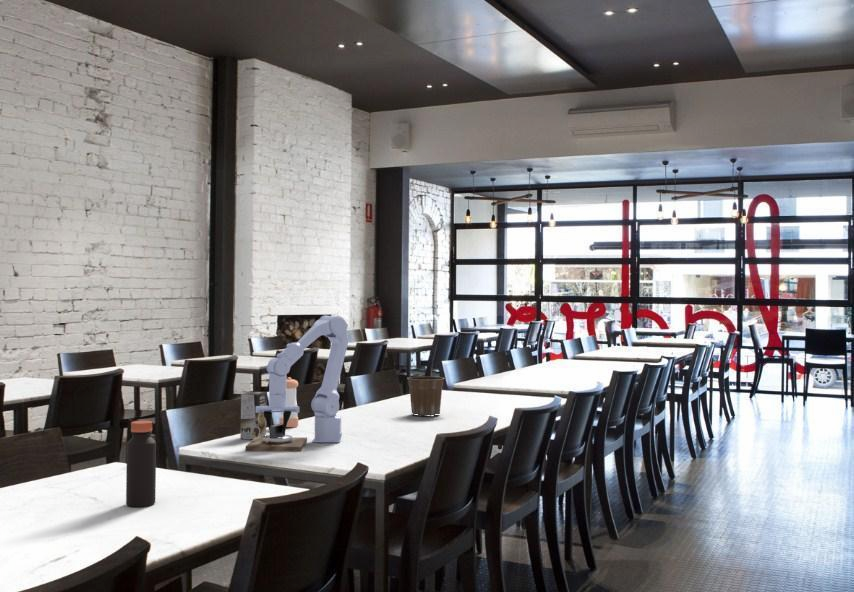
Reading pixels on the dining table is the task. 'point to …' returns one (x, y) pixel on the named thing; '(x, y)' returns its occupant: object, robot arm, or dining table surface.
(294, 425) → the pepper shaker
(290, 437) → the dial
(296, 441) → the dial plate
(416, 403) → the plant pot
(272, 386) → the robot arm
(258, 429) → the coffee box
